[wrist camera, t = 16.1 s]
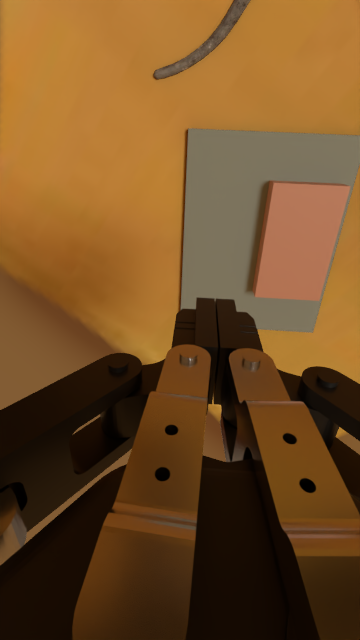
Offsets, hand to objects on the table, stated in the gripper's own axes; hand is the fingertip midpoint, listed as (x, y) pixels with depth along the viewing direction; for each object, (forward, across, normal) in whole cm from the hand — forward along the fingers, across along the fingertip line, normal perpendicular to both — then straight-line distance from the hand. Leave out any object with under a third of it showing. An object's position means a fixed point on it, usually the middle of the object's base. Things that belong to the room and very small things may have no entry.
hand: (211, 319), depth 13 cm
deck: (+18, -5, +2) cm, 18 cm away
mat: (+19, -5, +2) cm, 20 cm away
